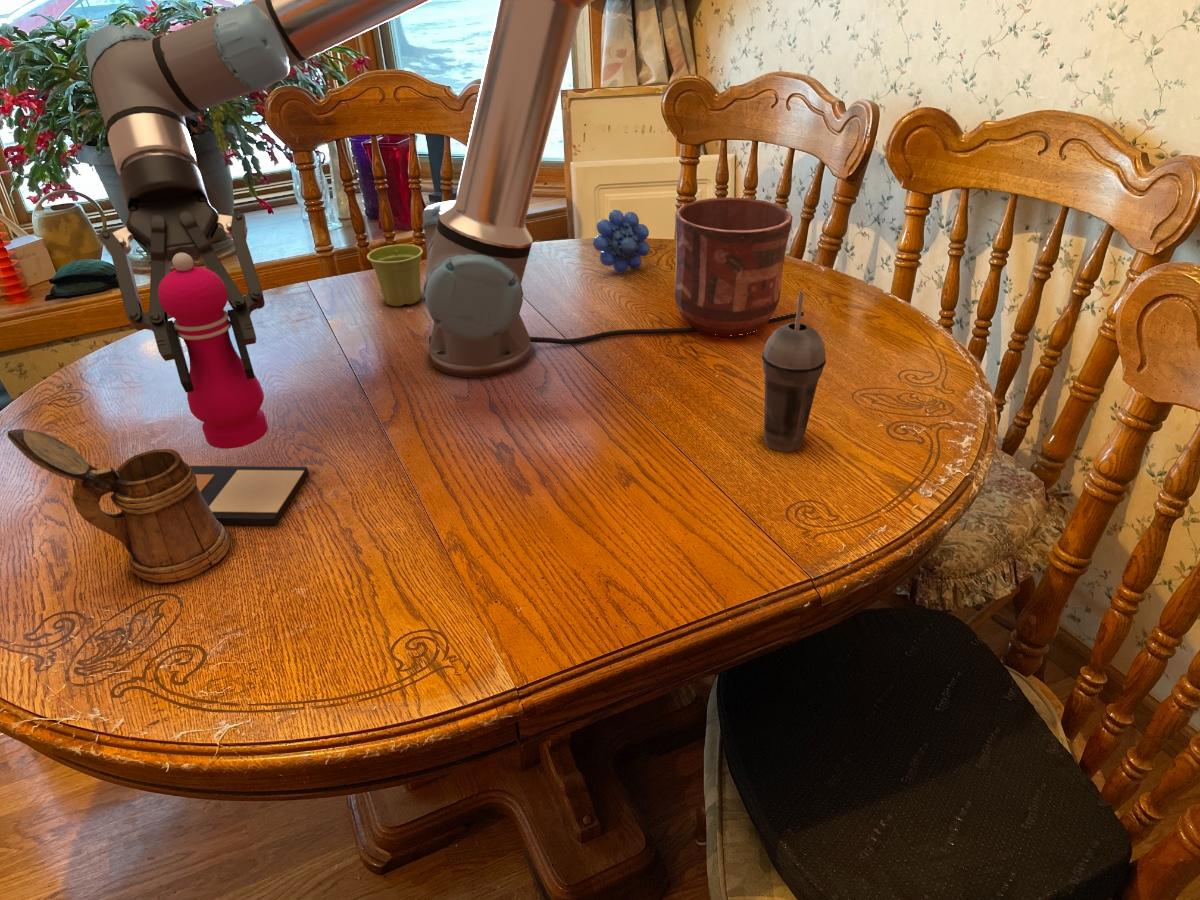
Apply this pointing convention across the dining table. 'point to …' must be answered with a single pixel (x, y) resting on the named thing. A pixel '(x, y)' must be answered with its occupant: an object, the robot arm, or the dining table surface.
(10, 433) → the wooden mug
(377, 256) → the plant pot
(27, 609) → the dining table surface
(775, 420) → the beverage cup
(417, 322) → the dining table surface
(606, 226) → the blue ball flower
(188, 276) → the pepper mill
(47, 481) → the dining table surface
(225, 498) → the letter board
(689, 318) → the pottery
